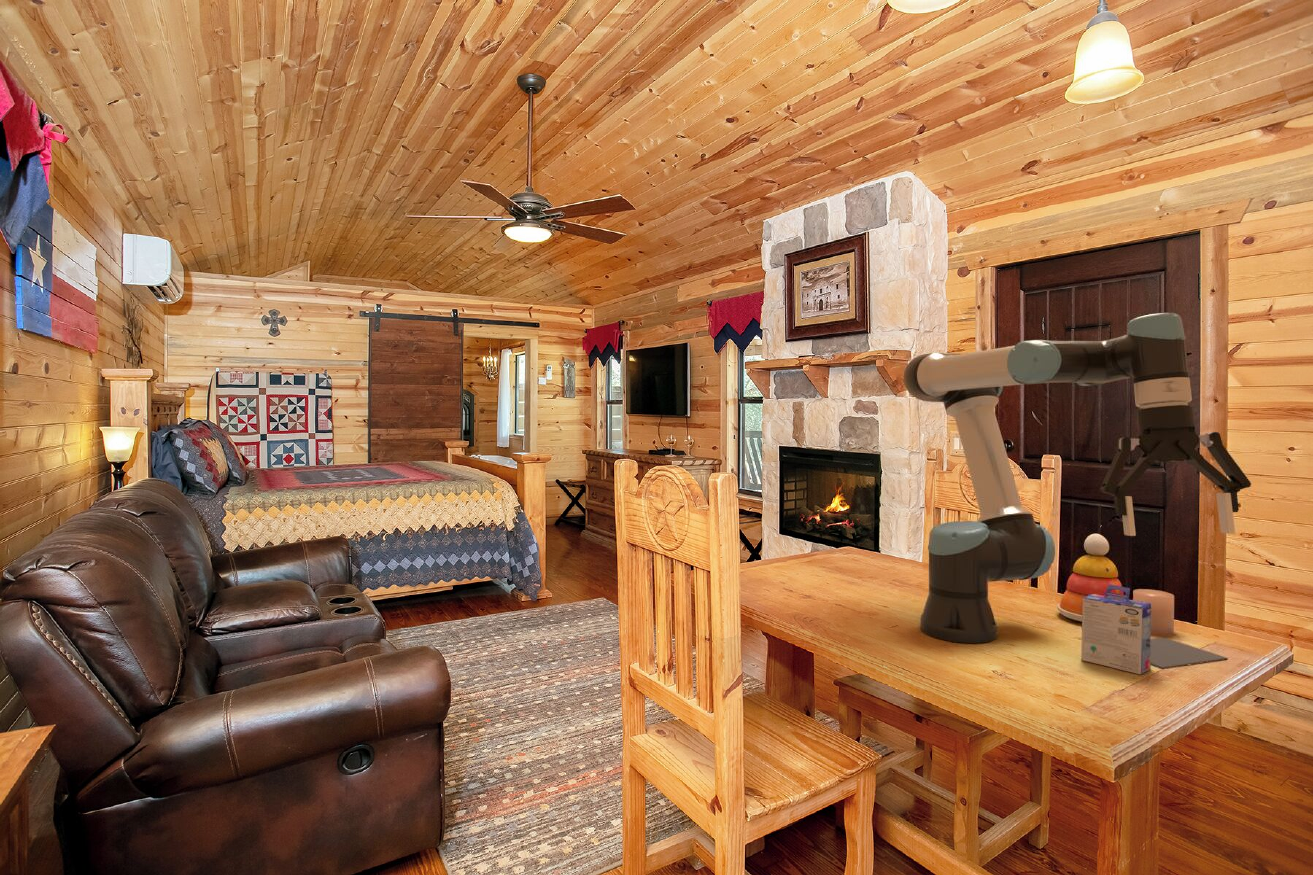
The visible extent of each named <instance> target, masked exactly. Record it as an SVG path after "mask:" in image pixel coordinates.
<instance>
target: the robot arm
mask: <svg viewBox="0 0 1313 875" xmlns="http://www.w3.org/2000/svg"><path fill="white" fill-rule="evenodd" d="M1186 340H1187V336H1186V335H1185V330H1184V324H1183V319H1182V317H1181V315H1179V314H1177V313H1174V312H1159V313H1151V314H1147V315H1142V316H1138V317H1136V318H1133V319H1131V320H1130V321H1129V322H1128V323H1127V330H1126V334H1125V335H1122V336H1119V337H1115V338H1110V339H1107V340H1099V341H1098V340H1097V341H1096V340H1044V339H1032V340H1031V339H1030V340H1022V341H1020V342H1017V344H1016V345H1011V346H1004V347H997V348H992V349H986V350H979V351H973V352H967V353H966V352H965V353H950V352H949V353H948V352H947V353H943V352H942V353H938V352H937V353H936V352H934V353H933V352H931V353H929V352H928V353H923V354H920V355H917V356H916V357H914V358H913V359H911V360H910V361H909V362H908V364H907V365H906V366H905V368H904V371H903V377H902V378H903V380H902V381H903V384H904V387H905V389H906V390H907V391H908V394H910V395H911V396H912V397H913V398H916V399H917V400H918V401H919V400H920V401H923V402H930V403H943V407H944V409H945V413H946V415H948V416H950V417H952V418H953V419H954V420H955V424H956V428H957V431H958V435H959V440H960V443H961V446H962V450H963V454H964V458H965V461H966V465H967V469H968V473H969V476H970V480H971V484H972V487H973V491H974V494H975V499H976V502H977V505H978V509H979V513H980V516H979V517H978V519H977V520H976V521H974V520H963V521H959V520H956V521H946V522H943V523H940V524H937V525H935V526H933V528H931V530H930V531H929V537H928V544H927V550H928V596H927V599H926V601H925V605H924V607H923V611H922V614H921V616H920V618H919V619H920V621H919V622H920V623H919V624H920V626H919V628H920V630H921V631H922V632H923V633H925V634H926V635H929V636H931V637H933V638H936V639H940V640H944V641H948V642H953V643H954V642H955V643H966V644H980V643H988V642H992V641H994V640H996V639H997V638H998V624H997V622H996V620H995V616H994V612H993V609H992V607H991V604H990V601H989V583H991V582H1002V581H1003V582H1004V581H1015V580H1016V581H1017V580H1019V581H1025V580H1029V579H1035V578H1039V577H1042V576H1043V575H1046V573H1048V572H1049V570H1050V569H1051V566H1052V564H1053V563H1054V561H1055V557H1056V546H1055V541H1054V538H1053V536H1052V534H1051V532H1050V531H1049V530H1047V529H1046V528H1045V527H1044V526H1042V525H1040V524H1037V523H1036V522H1035V519H1034V515H1033V513H1032V512H1031V511H1029V510H1027V509H1025V508H1024V507H1023V505H1022V502H1021V501H1022V500H1021V498H1020V495H1019V492H1018V488H1017V484H1016V481H1015V478H1014V475H1013V470H1012V467H1011V464H1010V460H1009V457H1008V454H1007V450H1006V447H1005V443H1004V440H1003V437H1002V434H1001V430H1000V426H999V423H998V419H997V417H996V413H995V408H996V406H997V405H998V403H999V401H1000V400H999V396H1000V395H1001V393H1002V392H1003V388H1004V387H1008V386H1009V387H1010V386H1020V385H1035V384H1048V383H1049V384H1051V383H1052V384H1055V383H1071V384H1072V383H1073V384H1074V383H1076V384H1077V385H1078V386H1083V387H1088V386H1101V385H1104V384H1106V383H1111V382H1116V381H1120V380H1121V381H1122V380H1125V379H1129V378H1130V379H1131V378H1132V380H1133V381H1132V382H1133V388H1134V400H1135V401H1134V402H1135V403H1134V404H1135V406H1136V407H1137V408H1140V409H1138V410H1137V412H1136V418H1137V427H1138V428H1137V429H1138V437H1137V438H1130V437H1128V436H1126V437H1121V438H1118V439H1117V443H1116V444H1117V446H1116V453H1115V455H1114V458H1113V459H1112V462H1111V464H1110V466H1109V468H1108V470H1107V473H1106V474H1105V476H1104V479H1103V482H1102V484H1101V485H1100V487H1099V490H1100V492H1101V493H1105V494H1108V495H1111V496H1113V501H1114V502H1113V503H1114V511H1115V514H1116V516H1122V517H1121V518H1122V523H1123V524H1122V526H1123V534H1124V536H1128V537H1135V536H1136V534H1137V532H1136V526H1135V524H1136V523H1135V515H1134V506H1133V497H1132V496H1130V495H1128V496H1127V493H1128V492H1129V491H1130V490H1131V489H1132V487H1133V486H1134V485H1135V484H1136V483H1137V482H1138V480H1140V478H1141V477H1142V476H1143V475H1144V473H1146V471H1147V470H1148V469H1149V468H1150V467H1151V465H1153V464H1154V463H1168V462H1172V463H1177V462H1184V461H1185V462H1186V463H1187V464H1190V465H1191V466H1192V467H1194V468H1195V469H1196V470H1197V471H1198V472H1199V473H1201V474H1202V475H1203V476H1204V477H1205V478H1207V480H1209V481H1210V482H1211V483H1212V484H1213V485H1215V487H1217V488H1218V489H1220V490H1221V491H1222V492H1216V504H1217V512H1218V521H1219V522H1218V523H1219V528H1220V530H1219V531H1220V534H1226V535H1227V534H1229V535H1235V534H1236V528H1235V520H1234V513H1239V510H1240V506H1239V499H1238V493H1239V492H1240V491H1241V490H1244V489H1247V488H1250V487H1252V482H1251V480H1249V478H1248V477H1247V475H1246V474H1245V473H1244V472H1243V469H1241V467H1240V466H1239V465H1238V463H1237V462H1236V461H1235V459H1234V458H1233V457H1232V455H1231V454H1230V453H1229V451H1228V449H1226V447H1225V445H1224V444H1223V440H1222V438H1221V437H1222V436H1221V433H1219V432H1218V431H1213V432H1207V433H1205V434H1199V435H1198V433H1197V432H1196V422H1195V415H1194V414H1195V413H1194V407H1193V406H1192V405H1190V404H1188V403H1191V402H1192V401H1193V398H1192V397H1193V396H1192V389H1191V380H1190V373H1189V370H1188V357H1187V356H1188V355H1187V354H1188V353H1187V341H1186ZM1199 443H1201V444H1202V446H1203V447H1205V448H1206V449H1207V450H1208V452H1209V454H1211V456H1212V458H1214V461H1216V463H1217V464H1218V466H1219V467H1220V468H1221V469H1222V471H1223V472H1224V473H1225V475H1226V476H1225V475H1224V474H1223V473H1222V472H1221V471H1219V470H1218V468H1216V467H1214V465H1212V464H1211V463H1210V462H1209V461H1208V460H1206V459H1205V458H1204V455H1202V454H1201V453H1200V452H1198V451H1197V450H1196V448H1197V446H1198V445H1199ZM1136 446H1137V447H1138V448H1139V449H1140V450H1141V451H1142V452H1143V453H1142V454H1141V455H1140V457H1139V458H1138V459H1137V460H1136V462H1135V464H1134V465H1133V466H1132V467H1131V469H1129V470H1128V471H1127V473H1126V474H1125V475H1124V476H1123V478H1122V479H1121V480H1120V482H1119V483H1118V480H1119V478H1120V477H1121V474H1122V472H1123V470H1124V469H1125V468H1124V467H1125V465H1126V463H1127V461H1128V459H1129V457H1130V453H1131V451H1134V450H1135V448H1136ZM1117 483H1118V484H1117ZM1116 484H1117V485H1116Z"/></svg>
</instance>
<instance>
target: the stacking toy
mask: <svg viewBox="0 0 1313 875" xmlns="http://www.w3.org/2000/svg"><path fill="white" fill-rule="evenodd" d="M1083 547H1084V551H1086V553H1087V554H1085V555H1083V556H1081V557H1079V558H1078V559H1077V560H1076V561H1075V562H1074V564H1073V568H1072V571H1073V573H1071V574H1070V576H1069V577H1068V580H1067V582H1066V589H1065V592H1064V593H1063V595H1062V596H1061V599H1060V602H1059V603H1058V604H1057V605H1056V606H1057V611H1058V612H1059V613H1060V615H1062V616H1064V617H1066V618H1068V619H1069V620H1070V619H1071V620H1074V621H1078V622H1081V623H1082V598H1084V597H1086V596H1088V595H1090V594H1096V595H1102V596H1105V594H1106V590H1107V587H1108V585H1114V586H1120V587H1123V586H1122V585H1123V584H1122V583H1121V581H1120V580H1119V578H1118V577H1119V571H1118V569H1117V567H1116V565H1115V564H1114V562H1113V561H1112V560H1110V559H1109V558H1108V557H1106V556H1105V555H1106V554H1107V553H1108V552H1109V550H1110V544H1109V541H1108V540H1107V538H1106V537H1104V536H1103V535H1101V534H1099V533H1092V534H1090V535H1088V536H1087V537H1086V539H1085V540H1084V543H1083ZM1110 592H1111V593H1115V594H1121V595H1125V594H1124V593H1125V592H1123V591H1121V590H1110Z"/></svg>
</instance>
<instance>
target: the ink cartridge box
mask: <svg viewBox="0 0 1313 875" xmlns="http://www.w3.org/2000/svg"><path fill="white" fill-rule="evenodd" d="M1110 590H1121V591H1123V593H1125V594H1123V595H1121V594H1115V593H1111V592H1110ZM1130 591H1131V588H1130V587H1124V586H1122V587H1120V586H1114V585H1108V587H1107V590H1106V594H1105V596H1102V595H1096V594H1090V595H1088V596H1086V597H1084V598H1082V622H1081V656H1080V657H1081V658H1080V660H1081V661H1084V662H1086V663H1087V662H1088V663H1091V664H1097V665H1101V666H1103V667H1109V668H1113V669H1116V670H1121V671H1125V672H1128V673H1132V674H1133V673H1134V674H1137V675H1142V674H1144V673H1146V672H1147V671H1149V670H1150V669H1151V668H1152V667H1151V666H1152V665H1151V639H1152V636H1151V603H1146V602H1140V601H1134V600H1133V599H1130Z"/></svg>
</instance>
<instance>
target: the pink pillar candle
mask: <svg viewBox="0 0 1313 875" xmlns="http://www.w3.org/2000/svg"><path fill="white" fill-rule="evenodd" d="M1132 594H1133V595H1132V596H1133V597H1132V600H1134V601H1140V602H1146V603H1151V635H1152V636H1161V637H1163V636H1164V637H1167V636H1173V635H1174V634H1175V633H1174V632H1175V630H1174V627H1175V595H1174V594H1173V593H1169V592H1167V591H1163V590H1156V589H1150V588H1149V589H1148V588H1147V589H1146V588H1145V589H1143V588H1138V589H1133V591H1132Z"/></svg>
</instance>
